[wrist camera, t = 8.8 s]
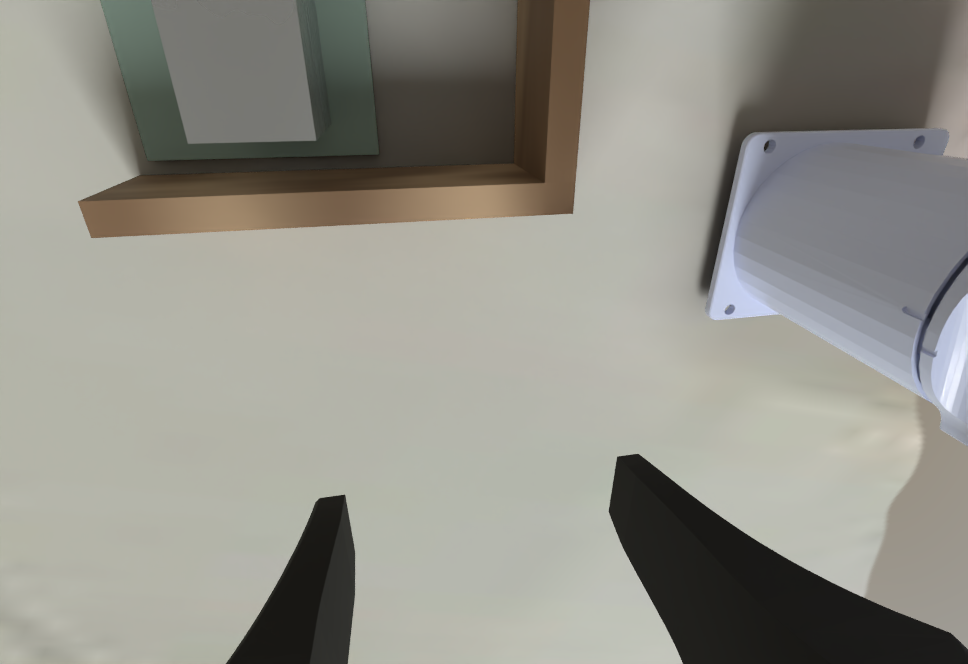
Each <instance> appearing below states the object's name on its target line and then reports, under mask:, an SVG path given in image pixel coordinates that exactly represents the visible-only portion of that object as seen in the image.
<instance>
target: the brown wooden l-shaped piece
mask: <svg viewBox="0 0 968 664" xmlns="http://www.w3.org/2000/svg"><path fill="white" fill-rule="evenodd" d="M589 6H590V0H518V10H517V51H516V92H515V132H514V163H511V164H480V165H449V166H418V167H387V168H356V169H325V170H294V171H263V172H232V173H201V174H170V175H140V176H137V177H135V178H132V179H130V180H128V181H125V182H123V183H121V184H118V185H116V186H113V187H111V188H109V189H106V190H104V191H102V192H99V193H97V194H95V195H92V196H90V197H87V198H85V199H83V200H80V201H78V203H79V206H80V208H81V211H82V214H83V217H84V219H85V222H86V225H87V227H88V230H89V233H90V235H91V238H101V237H121V236H140V235H160V234H180V233H199V232H219V231H239V230H258V229H278V228H298V227H317V226H337V225H357V224H377V223H396V222H416V221H436V220H455V219H475V218H495V217H514V216H534V215H554V214H573V206H574V193H575V181H576V168H577V156H578V143H579V131H580V118H581V106H582V93H583V81H584V68H585V56H586V43H587V31H588V18H589Z"/></svg>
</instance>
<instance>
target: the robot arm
mask: <svg viewBox="0 0 968 664" xmlns="http://www.w3.org/2000/svg"><path fill="white" fill-rule="evenodd" d="M915 139H916V141H915ZM948 140H949V132H948V131H947V130H946V129H942V128H913V129H871V130H828V131H785V132H754V133H751V134H749V135H748V136H747V137H746V138H745V139H744V141H743V143H742V145H741V149H740V154H739V158H738V163H737V167H736V172H735V176H734V181H733V186H732V190H731V195H730V199H729V204H728V208H727V213H726V217H725V222H724V226H723V231H722V235H721V240H720V244H719V249H718V254H717V258H716V263H715V267H714V272H713V276H712V281H711V285H710V290H709V294H708V299H707V303H706V308H705V312H706V314H707V315H708V316H709V317H710V318H712V319H713V320H722V319H732V318H743V317H754V316H764V315H775V314H781V315H783V316H784V317H786V318H788V319H790V320H791V321H793V322H795V323H796V324H798V325H800V326H802V327H803V328H805V329H807V330H808V331H810V332H812V333H813V334H815V335H817V336H819V337H820V338H822V339H824V340H825V341H827V342H829V343H830V344H832V345H834V346H836V347H837V348H839V349H841V350H842V351H844V352H846V353H847V354H849V355H851V356H853V357H854V358H856V359H858V360H859V361H861V362H863V363H864V364H866V365H868V366H870V367H871V368H873V369H875V370H876V371H878V372H880V373H882V374H883V375H885V376H887V377H888V378H890V379H892V380H893V381H895V382H897V383H899V384H900V385H902V386H904V387H905V388H907V389H909V390H910V391H912V392H914V393H916V394H917V395H919V396H921V397H922V398H924V399H926V400H928V401H929V402H931V403H933V404H934V405H935V406H936V407H937V408H938V409H939V411H940V413H941V423H940V429H941V430H942V431H944V432H946V433H947V434H949V435H950V436H952V437H954V438H955V439H957V440H958V441H960V442H962V443H963V444H965V445H966V446H968V159H965V158H958V157H951V156H944V155H943V153H944V150H945V148H946V145H947V143H948ZM767 141H769V146H768V148H767V149H766V150H765V151H764V145H765V143H766V142H767ZM914 141H915V143H914ZM728 305H730V306H729V308H728V309H727V310H726V311H724V310H725V308H726V307H727V306H728ZM609 514H610V516H611V519H612V521H613V524H614V527H615V529H616V532H617V534H618V537H619V539H620V542H621V544H622V546H623V549H624V550H625V552H626V554H627V556H628V558H629V560H630V562H631V564H632V566H633V567H634V569H635V571H636V573H637V575H638V577H639V578H640V580H641V582H642V584H643V586H644V588H645V589H646V591H647V593H648V595H649V597H650V599H651V600H652V602H653V604H654V606H655V608H656V609H657V611H658V613H659V615H660V617H661V619H662V620H663V622H664V624H665V626H666V628H667V630H668V632H669V634H670V636H671V638H672V640H673V642H674V644H675V646H676V648H677V651H678V653H679V655H680V657H681V660H682V662H683V664H968V649H967V648H966V647H965V646H964V645H963V644H962V643H961V642H960V641H959V640H958V639H956V638H955V637H954V636H953V635H952V634H951V633H949V632H946V631H944V630H941V629H939V628H936V627H934V626H931V625H929V624H926V623H923V622H921V621H918V620H916V619H913V618H911V617H908V616H905V615H903V614H900V613H898V612H895V611H893V610H890V609H888V608H886V607H883V606H881V605H879V604H877V603H874V602H872V601H870V600H868V599H865V598H863V597H861V596H859V595H857V594H854V593H852V592H850V591H848V590H846V589H844V588H842V587H840V586H838V585H835V584H833V583H831V582H830V581H828V580H826V579H824V578H822V577H820V576H818V575H816V574H814V573H812V572H810V571H808V570H806V569H804V568H803V567H801V566H799V565H797V564H795V563H793V562H792V561H790V560H788V559H786V558H785V557H783V556H781V555H780V554H778V553H776V552H774V551H773V550H771V549H769V548H768V547H766V546H764V545H763V544H761V543H759V542H758V541H756V540H755V539H753V538H751V537H750V536H748V535H747V534H745V533H744V532H742V531H741V530H739V529H738V528H736V527H735V526H733V525H732V524H730V523H729V522H728V521H726V520H725V519H723V518H722V517H720V516H719V515H718V514H716V513H715V512H713V511H712V510H711V509H709V508H708V507H706V506H705V505H704V504H702V503H701V502H700V501H698V500H697V499H696V498H694V497H693V496H692V495H690V494H689V493H688V492H686V491H685V490H684V489H683V488H681V487H680V486H679V485H677V484H676V483H675V482H674V481H672V480H671V479H670V478H669V477H667V476H666V475H665V474H663V473H662V472H661V471H660V470H658V469H657V468H656V467H655V466H653V465H652V464H651V463H650V462H648V461H647V460H646V459H644V458H643V457H642V456H640V455H639V454H634V455H626V456H619V457H617V462H616V468H615V475H614V481H613V488H612V494H611V500H610V507H609ZM354 598H355V549H354V543H353V538H352V532H351V526H350V520H349V515H348V509H347V503H346V497H345V495H340V496H333V497H325V498H320V499H319V500H318V501H317V502H316V503H315V505H314V508H313V511H312V513H311V516H310V518H309V520H308V523H307V525H306V527H305V530H304V532H303V534H302V536H301V538H300V540H299V542H298V545H297V547H296V549H295V551H294V553H293V554H292V556H291V558H290V560H289V562H288V564H287V566H286V568H285V570H284V572H283V574H282V576H281V577H280V579H279V581H278V583H277V585H276V586H275V588H274V590H273V591H272V593H271V595H270V596H269V598H268V600H267V602H266V603H265V605H264V607H263V608H262V610H261V612H260V613H259V615H258V617H257V618H256V620H255V621H254V623H253V625H252V626H251V628H250V629H249V631H248V632H247V634H246V635H245V637H244V638H243V640H242V641H241V643H240V644H239V646H238V647H237V649H236V650H235V652H234V653H233V655H232V656H231V657H230V659H229V660H228V662H227V663H226V664H348V655H349V645H350V636H351V627H352V617H353V608H354Z"/></svg>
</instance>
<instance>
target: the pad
mask: <svg viewBox="0 0 968 664" xmlns="http://www.w3.org/2000/svg"><path fill="white" fill-rule="evenodd" d="M100 1H101V5H102V8H103V11H104V15H105V18H106V22H107V25H108V28H109V32H110V35H111V39H112V42H113V45H114V49H115V52H116V55H117V59H118V62H119V66H120V69H121V72H122V76H123V79H124V82H125V86H126V89H127V93H128V96H129V99H130V103H131V106H132V110H133V113H134V116H135V120H136V123H137V126H138V130H139V133H140V137H141V140H142V143H143V147H144V150H145V154H146V157H147V160H148V161H160V160H196V159H232V158H268V157H304V156H340V155H376V154H379V146H378V135H377V124H376V114H375V103H374V92H373V81H372V70H371V59H370V49H369V38H368V27H367V16H366V5H365V0H315V4H316V11H317V19H318V27H319V34H320V42H321V49H322V57H323V64H324V72H325V80H326V87H327V95H328V102H329V110H330V117H331V125H330V126H329V127H328V128H327V129H326V130H325V132H324V133H323V134H322V135H321V136H320V137H319V138H318V139H317V140H316V141H280V142H239V143H198V144H188V142H187V138H186V134H185V130H184V126H183V123H182V119H181V115H180V111H179V107H178V103H177V99H176V95H175V92H174V88H173V84H172V80H171V76H170V72H169V68H168V64H167V61H166V57H165V53H164V49H163V45H162V41H161V37H160V33H159V30H158V26H157V22H156V18H155V14H154V10H153V6H152V2H151V0H100Z"/></svg>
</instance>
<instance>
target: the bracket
mask: <svg viewBox="0 0 968 664" xmlns="http://www.w3.org/2000/svg"><path fill="white" fill-rule="evenodd" d="M151 2H152V6H153V10H154V14H155V18H156V22H157V26H158V30H159V33H160V37H161V41H162V45H163V49H164V53H165V57H166V61H167V64H168V68H169V72H170V76H171V80H172V84H173V88H174V92H175V95H176V99H177V103H178V107H179V111H180V115H181V119H182V123H183V126H184V130H185V134H186V138H187V142H188V144H198V143H239V142H280V141H316V140H317V139H318V138H319V137H320V136H321V135H322V134H323V133H324V132H325V130H326V129H327V128H328V127H329V126H330V125H331V117H330V110H329V102H328V95H327V87H326V80H325V72H324V64H323V57H322V49H321V42H320V34H319V27H318V19H317V11H316V4H315V0H151Z"/></svg>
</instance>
